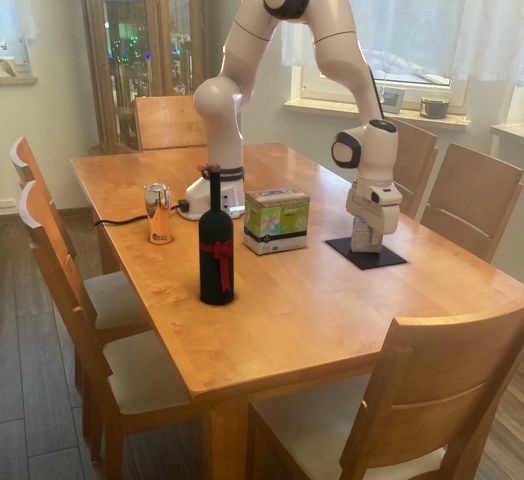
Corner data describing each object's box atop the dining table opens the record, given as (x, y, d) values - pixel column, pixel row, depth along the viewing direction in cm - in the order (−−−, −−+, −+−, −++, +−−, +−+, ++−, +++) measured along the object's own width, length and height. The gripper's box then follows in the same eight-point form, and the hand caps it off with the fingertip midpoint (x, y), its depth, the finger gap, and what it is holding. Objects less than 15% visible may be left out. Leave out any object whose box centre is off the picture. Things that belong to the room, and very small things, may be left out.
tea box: (259, 256, 146) (260, 202, 138) (242, 243, 153) (243, 191, 145) (306, 247, 152) (311, 195, 144) (289, 235, 159) (292, 184, 151)
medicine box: (378, 247, 152) (382, 217, 148) (380, 253, 149) (385, 223, 144) (350, 246, 152) (353, 216, 148) (351, 252, 149) (355, 222, 144)
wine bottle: (210, 312, 120) (207, 174, 103) (195, 292, 127) (189, 161, 111) (243, 306, 123) (245, 171, 106) (226, 287, 130) (225, 158, 114)
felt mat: (361, 270, 141) (362, 268, 141) (325, 241, 156) (325, 240, 156) (406, 262, 145) (407, 261, 145) (367, 236, 161) (367, 234, 161)
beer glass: (177, 237, 155) (174, 184, 147) (166, 246, 150) (162, 192, 142) (155, 233, 157) (151, 181, 149) (143, 242, 152) (138, 188, 143)
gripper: (343, 178, 148) (337, 226, 156) (385, 201, 132) (376, 254, 140) (363, 176, 150) (356, 224, 158) (406, 198, 134) (397, 251, 142)
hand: (366, 238), depth 149 cm, fingers closed on medicine box, 5 cm apart
